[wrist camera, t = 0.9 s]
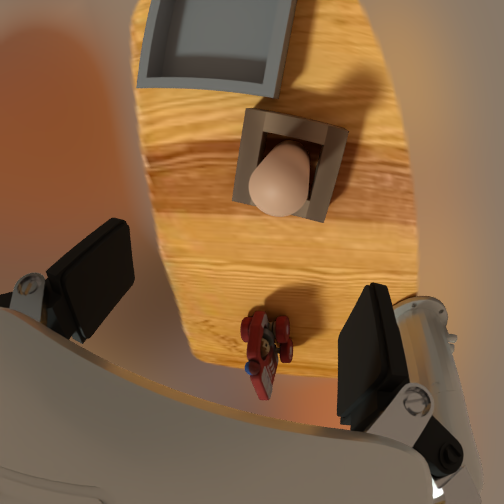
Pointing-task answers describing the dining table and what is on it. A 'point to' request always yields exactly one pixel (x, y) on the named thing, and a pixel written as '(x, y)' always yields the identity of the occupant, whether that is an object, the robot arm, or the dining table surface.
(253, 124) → the collar block
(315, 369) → the dining table surface
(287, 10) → the tray
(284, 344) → the red toy race car
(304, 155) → the dowel
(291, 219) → the dining table surface
